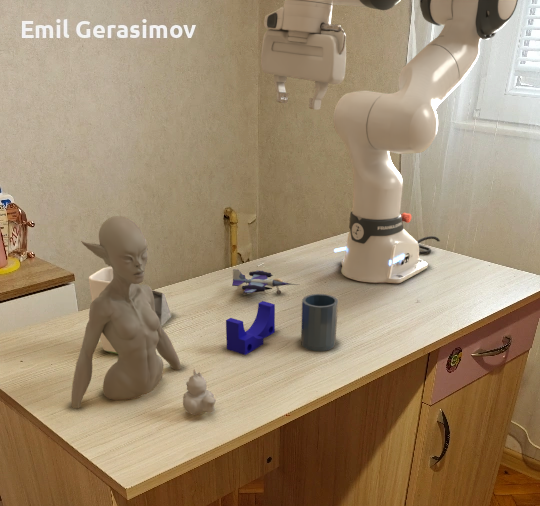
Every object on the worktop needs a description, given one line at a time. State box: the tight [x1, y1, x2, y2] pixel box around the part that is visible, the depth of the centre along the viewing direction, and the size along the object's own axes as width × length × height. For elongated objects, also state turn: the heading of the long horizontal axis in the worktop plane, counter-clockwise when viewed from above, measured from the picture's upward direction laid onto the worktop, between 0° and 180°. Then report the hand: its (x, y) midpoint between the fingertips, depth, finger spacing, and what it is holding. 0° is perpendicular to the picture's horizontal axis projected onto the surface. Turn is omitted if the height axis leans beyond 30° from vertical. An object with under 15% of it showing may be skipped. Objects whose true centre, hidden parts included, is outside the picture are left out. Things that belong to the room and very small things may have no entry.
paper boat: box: [151, 289, 173, 327], centre depth 151 cm, size 12×6×9 cm
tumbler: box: [300, 293, 339, 352], centre depth 140 cm, size 7×7×9 cm
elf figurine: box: [70, 215, 182, 409], centre depth 118 cm, size 23×10×30 cm, turn 133°
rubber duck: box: [182, 368, 217, 416], centre depth 118 cm, size 5×7×8 cm
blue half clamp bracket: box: [225, 300, 276, 356], centre depth 142 cm, size 12×4×6 cm, turn 145°
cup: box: [88, 266, 118, 355], centre depth 136 cm, size 7×7×15 cm
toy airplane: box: [231, 269, 299, 296], centre depth 164 cm, size 13×14×4 cm
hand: (297, 105), depth 139 cm, fingers open, 8 cm apart
